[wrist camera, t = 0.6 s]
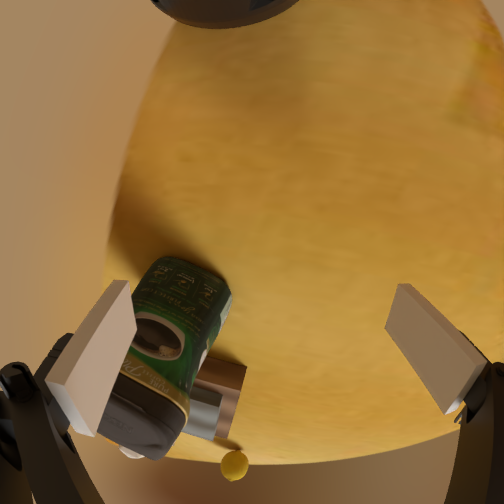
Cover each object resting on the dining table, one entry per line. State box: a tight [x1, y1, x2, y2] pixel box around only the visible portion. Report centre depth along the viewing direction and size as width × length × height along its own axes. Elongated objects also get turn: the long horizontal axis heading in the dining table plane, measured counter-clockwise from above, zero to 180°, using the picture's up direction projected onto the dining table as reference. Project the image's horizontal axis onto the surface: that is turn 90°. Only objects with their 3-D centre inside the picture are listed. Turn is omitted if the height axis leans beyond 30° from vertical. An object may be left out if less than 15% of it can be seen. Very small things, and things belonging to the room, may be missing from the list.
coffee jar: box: [96, 257, 232, 460], centre depth 22 cm, size 10×8×19 cm
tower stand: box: [181, 356, 247, 441], centre depth 36 cm, size 16×16×6 cm
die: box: [119, 445, 145, 458], centre depth 51 cm, size 8×9×10 cm
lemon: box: [221, 450, 248, 481], centre depth 45 cm, size 6×6×8 cm
